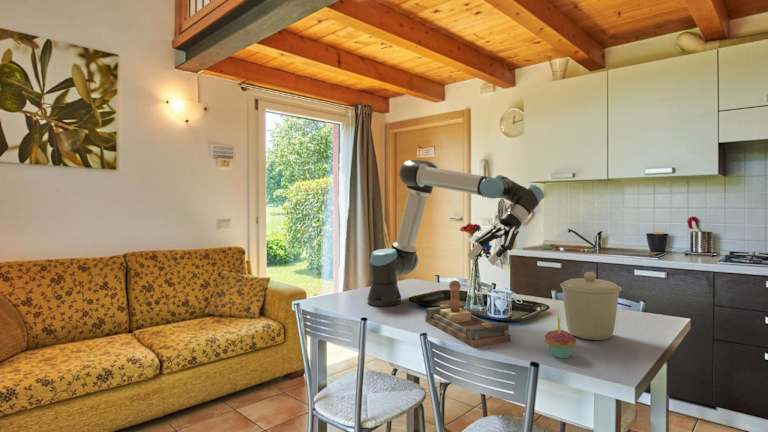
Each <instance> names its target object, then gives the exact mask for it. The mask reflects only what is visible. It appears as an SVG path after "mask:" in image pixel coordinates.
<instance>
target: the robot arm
mask: <svg viewBox="0 0 768 432" xmlns="http://www.w3.org/2000/svg"><path fill="white" fill-rule="evenodd" d="M398 173H399V178H400V180H401V182H402V183H403V184H404V185H405V186H406V189H407V190H408V194H407V198H406V202H405V206H404V211H403V214H402V219H401V222H400V226H399V229H398V235H397V239H396V241H394V242H393V243H392V245H391V248H382V249H381V248H379V249H376V250H374V251H372V252H371V254H370V261H369V263H370V288H369V291H368V295H367V304H368V305H371V306H374V307H392V306H398V305H400V304H401V303H402V295H401V292H400V289H399V286H398V276H402V275H407V274H410V273H412V272H413V271H414V270H415V269H416V268H417V266H418V263H419V257H418V254H417V252H418V249H417V248H416V246H415V245H416V241H417V238H418V233H419V229H420V226H421V222H422V219H423V218H422V217H423V213H424V210H425V206H426V203H427V199H428V196H430V195H431V194H432V193H433V190H434V188H439V189H445V190H450V191H455V192H460V193H466V194H470V195H476V196H477V195H478V196H481V197H484V198H487V199H493V200H494V199H505V200H507V201H508V202H511V203H512V204H511V205H510V207H509V208H508V209H507V210H506V211H505V213H504V214H503V215H502V217H501V218H500V219H499V225H498V226H496V225H495V224H493V225H492V226H491V227H490V228H489V229H488V230H486V231H485V232H484V233H483V234H481V235H480V236H479V237H477V238H476V239H475V240H474V241H475V242H476V243H475V245H474V247H472V249H471V250H470V251H469V253H467V257H468V258H469V259H470V260H471V261H473V260H474V259H475V258H476V257H477V255H478V254H479V253H480V252H481V250H482V249H483V248H484V246H486V245H487V244H488V243H490V242H492V241H494V240H497V239H501V242H500V244H499V246H497V247H496V250H494V252H493V253H492V254H491V255H490V257H489V258H488V259H487V261H488V262H489V263H490V264H491V266H495V264H496V263H497V261H498V260H499V259H500V258H501V257H502V256H503V254H505V252H507V251H512V250H513V247H514V244H515V241H516V238H517V236H518V234H519V233H520V230H519V229H520V228H521V226H522V224H524V222H526V220H527V219H528V217H530V215H531V214H532V212H534V210H535V209H537V207H538V206H539V204H540V203H541V202H542V200H543V199H544V196H545V194H544V192H543V190H542V189H541V188H540V187H539V186H537V185H535V184H528V185H527V186H522V185H520V183H519V184H518V182H515V181H514V180H511V179H509V178H508V177H507V176H504V175H502V174H497V175H496V176H495V177H491V176H485V175H481V174H475V173H474V174H473V173H468V172H461V171H456V170H455V171H454V170H451V169H450V170H449V169H442V168H439V167H438V166H437V165H436V164H435V163H434V162H432V161H429V160H421V159H420V160H419V159H408V160H406V161H405V162H404V163H402V165H400V168H399V172H398ZM433 187H434V188H433Z"/></svg>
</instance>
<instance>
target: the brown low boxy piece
mask: <svg viewBox="0 0 768 432" xmlns="http://www.w3.org/2000/svg"><path fill="white" fill-rule="evenodd" d="M449 308H451V304H450V305H449V304H440V305H439V306H437V307H435V306H434V307H427V308H426V315H425V318H424V319H425V320H424V321H425V322H426V323H429V324H430V325H432V326H434V327H435V328H438V329H439V330H441V331H443V332H445V333H446V334H448V335H450V336H453V337H454V338H455V339H457V340H459V341H460V342H463V343H465V344H466V345H469V346H471V347H472V348H475V347H476V348H477V347H481V346H482V345H483V346H488V344H489V345H494V344H493V343H496V344H500V343H501V342H502V343H506V342H507V343H509V342H511V340H512V339H511V337H512V336H511V334H509V330H510V329H509V324H508V323H505V322H496V323H491V322H490V321H487V320H485V319H482V318H480V317H477V316H475V315H473V314H471V321H465V322H458V323H454V322H452V321H450V320H448V319H446V318H443V317H441V316H440V310H441V309H449ZM460 308H462V309H464V306H463V305H461V304H460Z"/></svg>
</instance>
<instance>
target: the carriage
mask: <svg viewBox="0 0 768 432" xmlns="http://www.w3.org/2000/svg"><path fill="white" fill-rule="evenodd" d="M448 288H449V290H450V294H449V295H450V306H451V308H449V309H441V310H440V316H441V317H443V318H446V319H448V320H450V321H452V322H454V323H458V322H465V321H471V315H472V313H471V311H469V310H466V309H464V308H463V309H462V308H460V305H461V304H460V303H461V302H460V298H461V297H460V289H461V283H460V281H458V280H452V281H451V282H450V283H449V285H448Z"/></svg>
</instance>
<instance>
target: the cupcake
mask: <svg viewBox="0 0 768 432" xmlns="http://www.w3.org/2000/svg"><path fill="white" fill-rule="evenodd" d="M544 341H545V343H546V344H547V345H548V347H549V350H550V353H551V356H553V357H554V358H555V357H556V358H557V359H567V358H569V357H570V356H571V352H572V350H573V348H574V347H575V346H576V345H577V338H576V336H574V335H572V334H571V333H570V332H569V331H567V330H562V329H561V318H560V315H558V316H557V329H555V330H554V329H553V330H550V331H548V332H547V333H546V334H545V335H544Z"/></svg>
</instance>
